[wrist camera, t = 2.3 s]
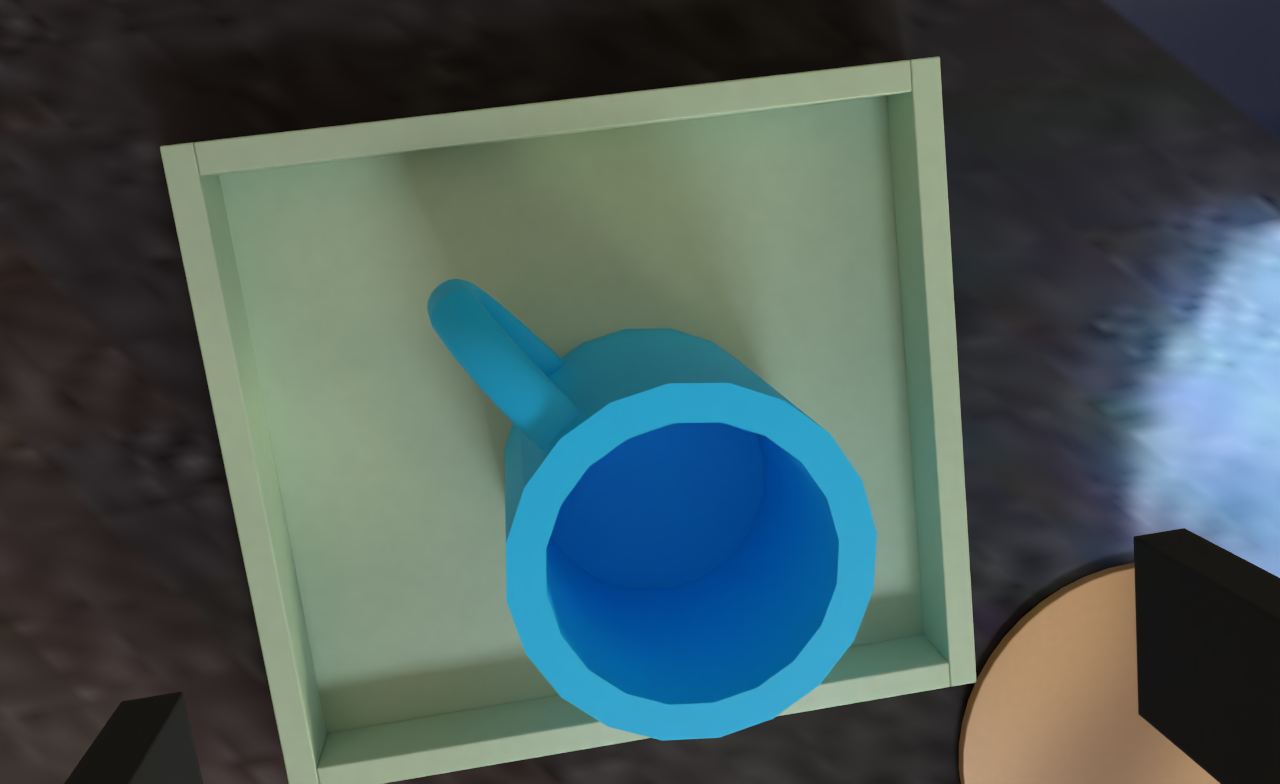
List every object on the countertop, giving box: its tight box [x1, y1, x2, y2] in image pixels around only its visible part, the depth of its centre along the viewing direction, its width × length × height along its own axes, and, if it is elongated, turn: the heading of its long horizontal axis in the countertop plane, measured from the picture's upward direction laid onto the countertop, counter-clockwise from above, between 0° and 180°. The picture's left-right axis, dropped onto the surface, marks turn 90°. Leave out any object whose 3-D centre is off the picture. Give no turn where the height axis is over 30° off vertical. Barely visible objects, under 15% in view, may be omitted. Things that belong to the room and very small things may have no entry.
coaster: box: [959, 563, 1220, 784], centre depth 36 cm, size 12×12×1 cm
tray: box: [160, 56, 976, 784], centre depth 31 cm, size 20×18×2 cm
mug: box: [427, 279, 877, 740], centre depth 28 cm, size 12×8×8 cm
